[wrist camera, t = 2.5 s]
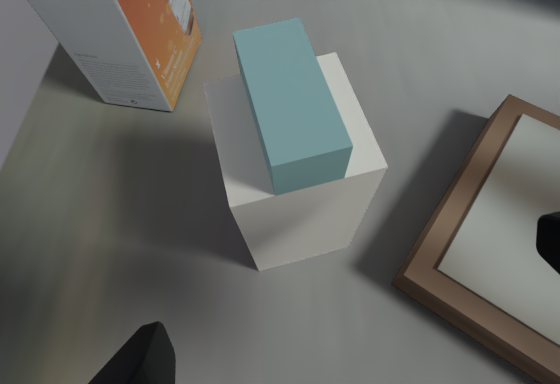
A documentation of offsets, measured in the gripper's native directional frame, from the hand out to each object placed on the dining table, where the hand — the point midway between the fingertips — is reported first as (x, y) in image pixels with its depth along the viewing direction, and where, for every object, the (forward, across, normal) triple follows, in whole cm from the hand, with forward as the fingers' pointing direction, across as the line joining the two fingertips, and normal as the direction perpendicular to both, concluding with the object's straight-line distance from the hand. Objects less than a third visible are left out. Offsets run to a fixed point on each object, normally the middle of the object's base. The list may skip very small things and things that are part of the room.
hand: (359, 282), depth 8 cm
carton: (+13, 0, +4) cm, 14 cm away
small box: (+24, +7, -6) cm, 26 cm away
